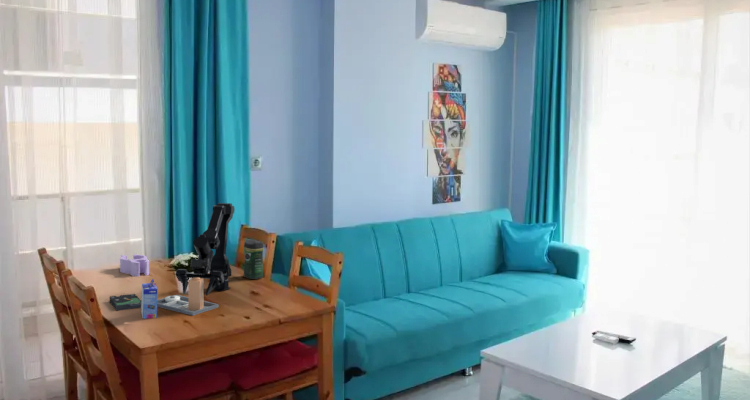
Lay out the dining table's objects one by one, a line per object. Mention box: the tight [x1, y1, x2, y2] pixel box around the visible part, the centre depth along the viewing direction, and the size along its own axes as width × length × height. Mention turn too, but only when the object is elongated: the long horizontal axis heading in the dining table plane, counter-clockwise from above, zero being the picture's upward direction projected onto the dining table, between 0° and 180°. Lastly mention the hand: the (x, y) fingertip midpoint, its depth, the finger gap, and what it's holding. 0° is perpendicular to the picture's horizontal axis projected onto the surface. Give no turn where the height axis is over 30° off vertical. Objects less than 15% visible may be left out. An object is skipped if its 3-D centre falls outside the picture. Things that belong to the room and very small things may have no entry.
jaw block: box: [187, 277, 205, 311], centre depth 258 cm, size 5×5×13 cm
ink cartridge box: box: [140, 278, 158, 320], centre depth 249 cm, size 10×6×14 cm, turn 23°
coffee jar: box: [243, 239, 265, 280], centre depth 315 cm, size 10×8×19 cm
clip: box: [119, 253, 150, 277], centre depth 319 cm, size 20×12×7 cm, turn 39°
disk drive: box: [109, 293, 141, 311], centre depth 264 cm, size 10×3×15 cm
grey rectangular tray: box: [157, 294, 220, 316], centre depth 262 cm, size 24×14×3 cm, turn 60°
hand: (195, 294), depth 257 cm, fingers open, 9 cm apart
